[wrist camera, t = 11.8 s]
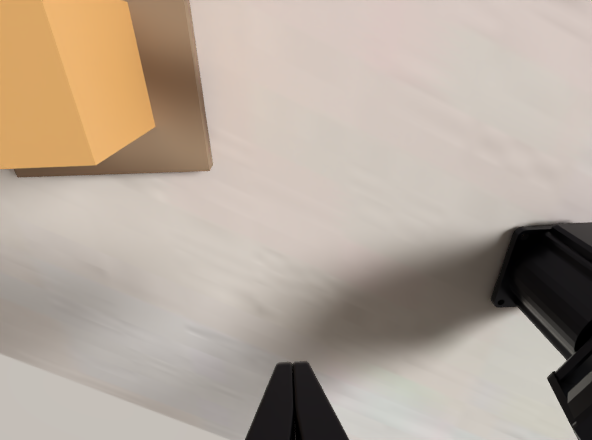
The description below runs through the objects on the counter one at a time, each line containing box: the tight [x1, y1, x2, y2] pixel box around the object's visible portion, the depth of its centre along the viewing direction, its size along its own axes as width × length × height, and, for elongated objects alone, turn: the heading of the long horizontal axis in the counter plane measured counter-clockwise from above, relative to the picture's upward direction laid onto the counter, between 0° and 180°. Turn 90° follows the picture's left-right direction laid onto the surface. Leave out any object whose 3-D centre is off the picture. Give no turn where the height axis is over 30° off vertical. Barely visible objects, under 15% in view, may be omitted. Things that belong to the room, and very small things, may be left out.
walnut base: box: [14, 0, 213, 177], centre depth 15 cm, size 10×10×1 cm
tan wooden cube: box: [0, 0, 155, 169], centre depth 12 cm, size 5×5×6 cm
